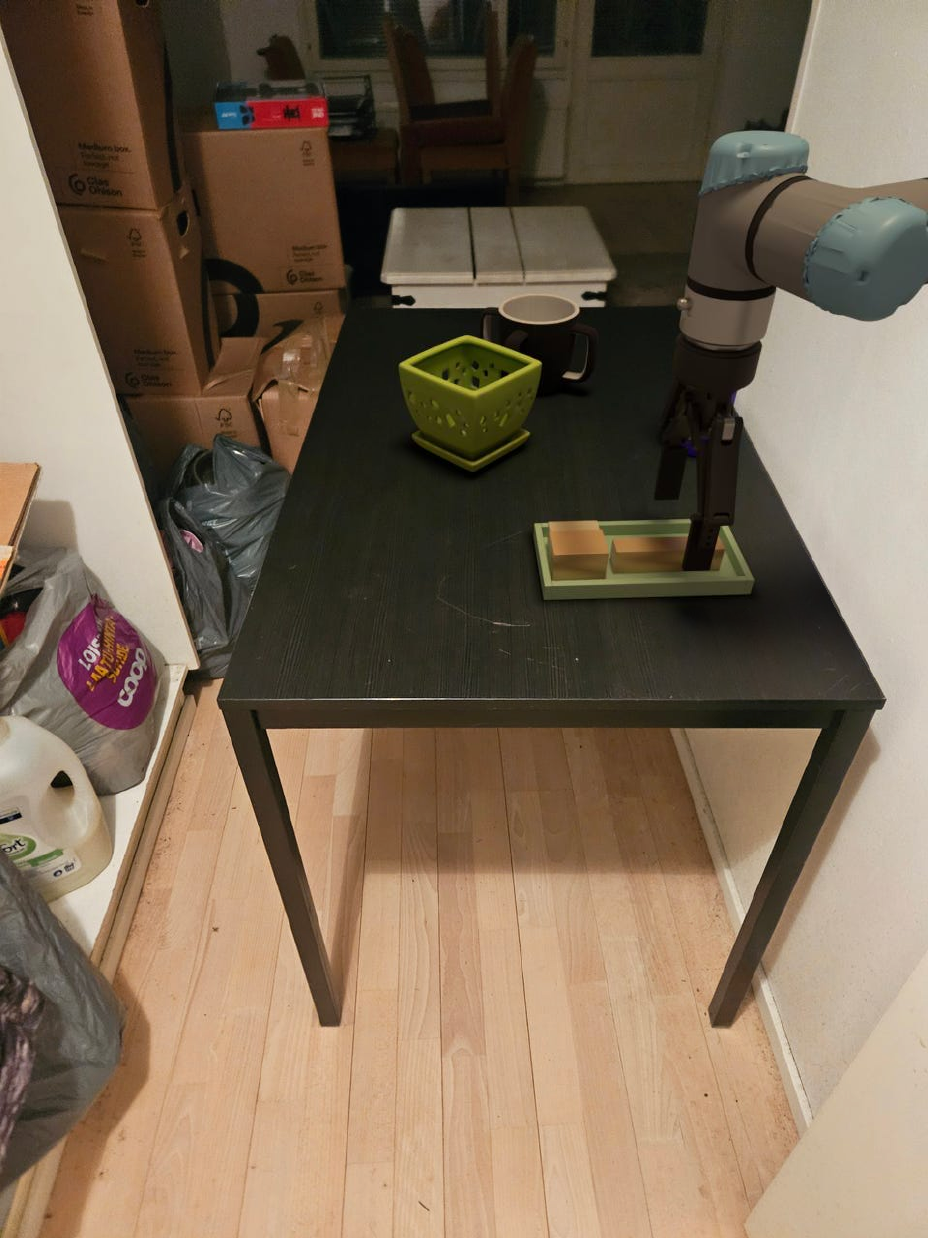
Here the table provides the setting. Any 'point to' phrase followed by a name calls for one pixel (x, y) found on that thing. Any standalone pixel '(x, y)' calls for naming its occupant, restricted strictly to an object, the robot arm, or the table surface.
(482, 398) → the flower pot
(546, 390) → the mug
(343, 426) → the table surface
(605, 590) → the tray
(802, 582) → the table surface
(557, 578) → the wooden mallet
